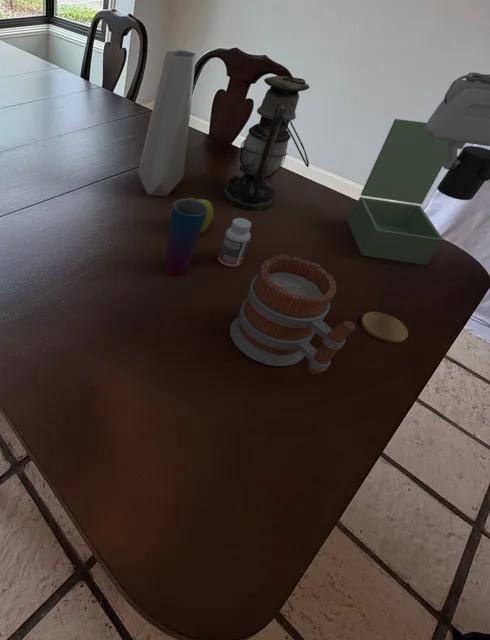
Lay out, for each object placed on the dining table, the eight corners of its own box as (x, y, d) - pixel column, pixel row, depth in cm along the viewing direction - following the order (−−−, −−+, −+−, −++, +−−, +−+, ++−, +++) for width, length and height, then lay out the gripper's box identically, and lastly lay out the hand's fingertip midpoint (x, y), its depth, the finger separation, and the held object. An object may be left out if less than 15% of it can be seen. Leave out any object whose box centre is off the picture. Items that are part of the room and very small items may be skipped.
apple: (206, 240, 104) (204, 198, 98) (175, 238, 109) (172, 198, 103) (218, 226, 109) (217, 186, 103) (188, 225, 113) (185, 186, 108)
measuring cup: (432, 183, 80) (458, 143, 75) (465, 188, 79) (493, 148, 74) (449, 204, 74) (478, 163, 69) (484, 210, 73) (516, 169, 68)
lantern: (222, 179, 130) (256, 63, 109) (288, 190, 128) (336, 73, 106) (219, 208, 118) (257, 83, 96) (292, 221, 115) (348, 96, 93)
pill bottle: (230, 251, 103) (243, 214, 96) (246, 264, 100) (260, 226, 93) (212, 257, 101) (224, 218, 94) (227, 269, 98) (241, 231, 91)
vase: (128, 182, 126) (146, 46, 102) (165, 179, 128) (191, 46, 105) (143, 202, 118) (166, 60, 94) (182, 199, 120) (214, 60, 97)
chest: (425, 265, 104) (444, 240, 99) (361, 255, 105) (376, 230, 101) (404, 229, 115) (420, 205, 110) (347, 220, 117) (359, 196, 112)
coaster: (399, 317, 90) (401, 315, 89) (412, 346, 84) (414, 344, 83) (356, 310, 90) (358, 308, 90) (366, 338, 85) (367, 336, 84)
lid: (463, 127, 100) (452, 124, 104) (396, 119, 101) (387, 115, 105) (422, 204, 110) (413, 198, 114) (361, 195, 111) (355, 189, 116)
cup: (167, 256, 100) (180, 195, 90) (194, 267, 98) (212, 205, 87) (154, 271, 96) (167, 208, 85) (183, 282, 94) (200, 219, 83)
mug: (271, 308, 89) (301, 245, 79) (343, 377, 77) (390, 313, 66) (214, 324, 85) (238, 260, 74) (280, 399, 73) (320, 335, 62)
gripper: (467, 76, 64) (411, 169, 73) (623, 95, 61) (543, 189, 71) (452, 65, 68) (400, 154, 78) (597, 83, 66) (525, 173, 76)
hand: (470, 171), depth 74 cm, fingers closed on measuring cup, 5 cm apart
